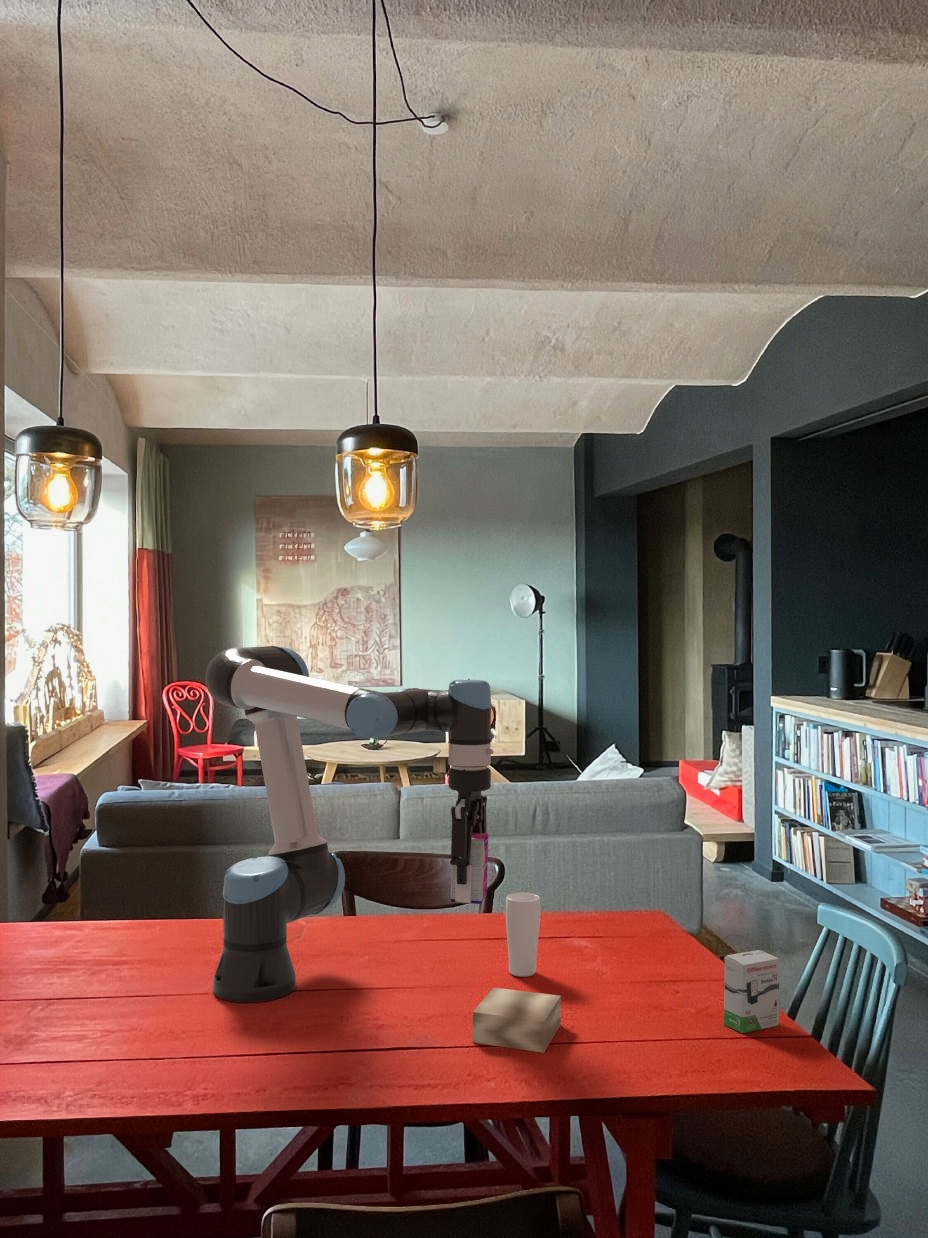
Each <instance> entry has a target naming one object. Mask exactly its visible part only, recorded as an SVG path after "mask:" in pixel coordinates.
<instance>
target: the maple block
mask: <svg viewBox="0 0 928 1238" xmlns="http://www.w3.org/2000/svg"><path fill="white" fill-rule="evenodd" d="M561 1001H562V995H557V994H548V993H539V992H533V991H532V992H531V991H524V990H516V989H508V988H502V987H493V988H492V989H491V990H490V991H489V992H488V994H487V995H486V996H485V997H484V998H483V999H482V1001H481V1002H480V1003H479V1004H478V1005H477V1007H475V1008H474V1010H473V1011H472V1043H473V1044H481V1045H487V1046H492V1047H493V1046H494V1047H495V1046H496V1047H500V1048H501V1047H502V1048H508V1049H514V1050H515V1049H516V1050H524V1051H530V1052H537V1053H542V1054H543V1053H545V1051H546V1049H547V1048H548V1046H549V1045H550V1043H551V1042H552V1040H553V1039H554V1037H555V1035H556V1033H557V1032H558V1030H559V1029H560V1027H561V1026H562V1025H561V1024H562V1023H561V1020H562V1019H561V1018H562V1017H561V1015H562V1013H561V1012H562V1010H561V1009H562V1002H561Z"/></svg>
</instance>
